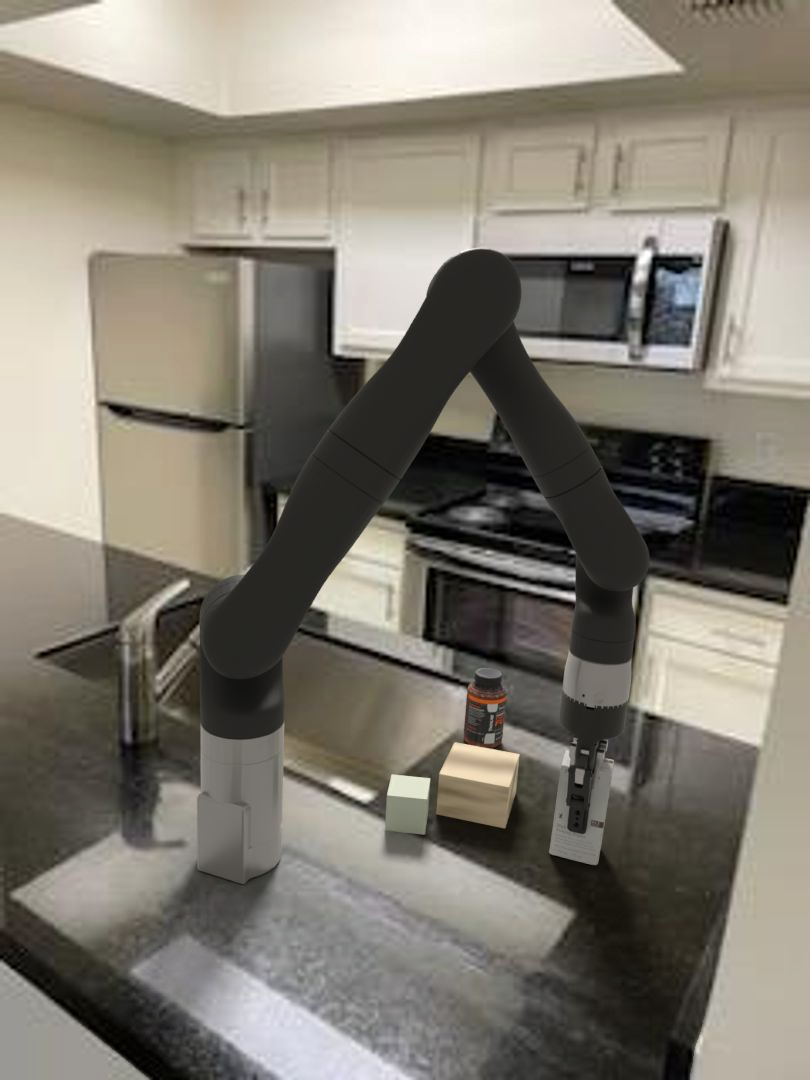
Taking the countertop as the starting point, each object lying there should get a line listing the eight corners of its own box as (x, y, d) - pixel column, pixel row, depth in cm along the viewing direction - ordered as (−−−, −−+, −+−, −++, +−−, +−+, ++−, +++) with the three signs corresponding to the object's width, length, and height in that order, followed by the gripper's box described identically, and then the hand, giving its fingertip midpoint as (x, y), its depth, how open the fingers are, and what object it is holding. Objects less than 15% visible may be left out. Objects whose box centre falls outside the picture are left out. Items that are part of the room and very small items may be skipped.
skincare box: (548, 855, 101) (558, 765, 98) (553, 835, 105) (563, 747, 102) (600, 867, 100) (612, 776, 96) (603, 846, 104) (614, 757, 101)
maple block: (505, 829, 106) (509, 787, 105) (436, 815, 109) (439, 773, 107) (515, 793, 115) (519, 754, 113) (451, 781, 117) (454, 742, 116)
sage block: (424, 835, 104) (427, 799, 103) (385, 830, 104) (386, 795, 103) (427, 812, 109) (430, 778, 108) (389, 808, 109) (391, 774, 108)
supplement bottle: (500, 753, 125) (506, 683, 122) (460, 747, 126) (466, 677, 123) (503, 735, 131) (509, 667, 128) (465, 729, 132) (471, 662, 129)
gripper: (573, 662, 105) (559, 784, 109) (551, 707, 92) (537, 844, 96) (635, 673, 102) (618, 798, 107) (621, 721, 89) (603, 861, 94)
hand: (580, 819), depth 101 cm, fingers closed on skincare box, 4 cm apart
